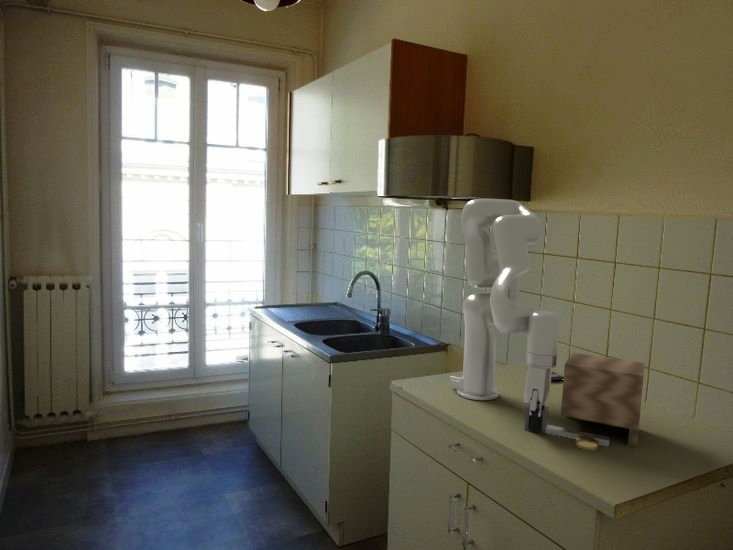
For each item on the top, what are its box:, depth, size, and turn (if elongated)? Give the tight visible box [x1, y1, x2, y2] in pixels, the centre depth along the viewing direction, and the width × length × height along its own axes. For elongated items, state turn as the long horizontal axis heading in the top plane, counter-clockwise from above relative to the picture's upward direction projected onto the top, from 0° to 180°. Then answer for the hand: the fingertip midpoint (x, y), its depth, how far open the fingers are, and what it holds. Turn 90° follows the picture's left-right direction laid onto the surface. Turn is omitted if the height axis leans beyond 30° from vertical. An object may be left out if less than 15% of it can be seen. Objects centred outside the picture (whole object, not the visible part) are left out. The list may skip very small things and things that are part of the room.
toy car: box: [551, 370, 564, 382], centre depth 184 cm, size 4×12×8 cm, turn 109°
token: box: [575, 436, 599, 451], centre depth 132 cm, size 5×5×2 cm
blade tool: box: [524, 403, 611, 447], centre depth 137 cm, size 20×4×6 cm, turn 62°
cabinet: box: [560, 352, 646, 449], centre depth 141 cm, size 18×14×18 cm
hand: (536, 426), depth 141 cm, fingers closed on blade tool, 3 cm apart
